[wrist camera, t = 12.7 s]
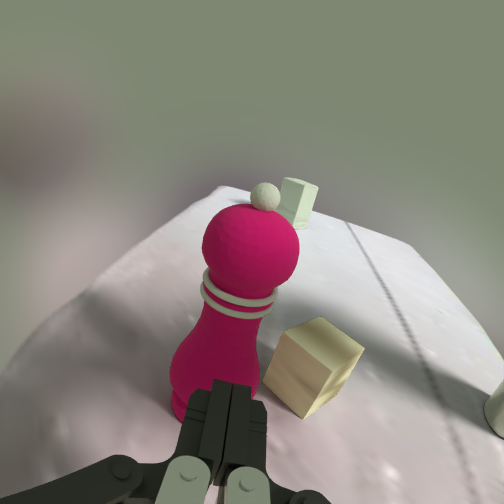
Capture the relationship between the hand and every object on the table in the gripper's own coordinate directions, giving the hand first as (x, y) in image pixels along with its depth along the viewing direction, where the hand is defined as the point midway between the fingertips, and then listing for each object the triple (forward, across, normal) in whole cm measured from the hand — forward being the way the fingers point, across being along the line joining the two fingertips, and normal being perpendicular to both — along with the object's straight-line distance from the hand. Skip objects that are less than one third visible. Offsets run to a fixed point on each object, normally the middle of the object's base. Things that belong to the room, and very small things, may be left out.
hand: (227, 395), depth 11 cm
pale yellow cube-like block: (+14, -9, +14) cm, 22 cm away
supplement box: (+75, -11, +15) cm, 77 cm away
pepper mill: (+9, +1, +14) cm, 17 cm away
